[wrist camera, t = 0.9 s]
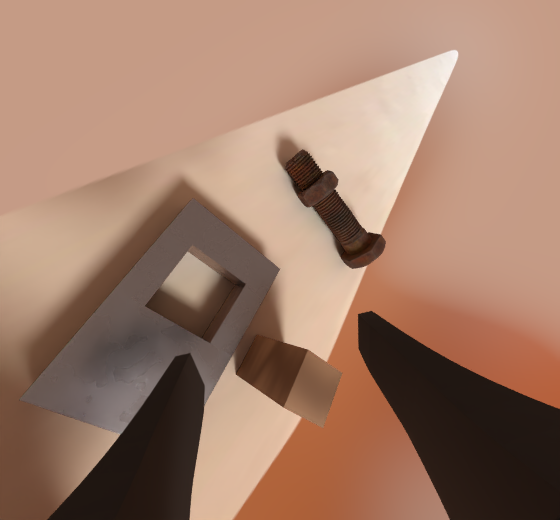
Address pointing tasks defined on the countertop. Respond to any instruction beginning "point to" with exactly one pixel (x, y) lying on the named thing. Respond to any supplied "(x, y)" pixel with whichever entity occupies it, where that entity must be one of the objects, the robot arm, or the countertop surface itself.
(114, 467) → the robot arm
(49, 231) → the countertop surface
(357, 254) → the bolt
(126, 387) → the collar plate
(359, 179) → the countertop surface
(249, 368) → the pin
